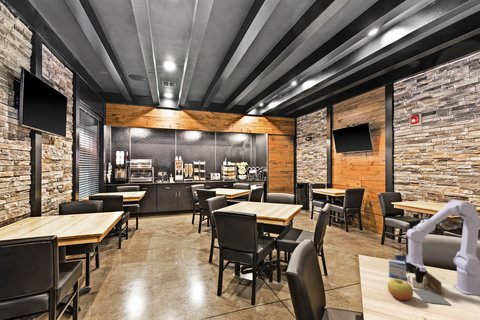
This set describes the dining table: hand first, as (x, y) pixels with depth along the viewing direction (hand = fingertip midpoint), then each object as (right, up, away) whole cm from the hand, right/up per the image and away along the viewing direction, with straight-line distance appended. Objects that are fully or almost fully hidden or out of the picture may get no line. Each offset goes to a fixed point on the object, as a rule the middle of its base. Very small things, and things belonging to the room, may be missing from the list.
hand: (415, 279), depth 119 cm
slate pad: (-1, -3, -11) cm, 11 cm away
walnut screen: (+6, -3, -2) cm, 8 cm away
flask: (+6, -4, +17) cm, 18 cm away
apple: (-16, -3, -11) cm, 19 cm away
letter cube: (0, -3, 0) cm, 3 cm away
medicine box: (-4, -3, +9) cm, 10 cm away
